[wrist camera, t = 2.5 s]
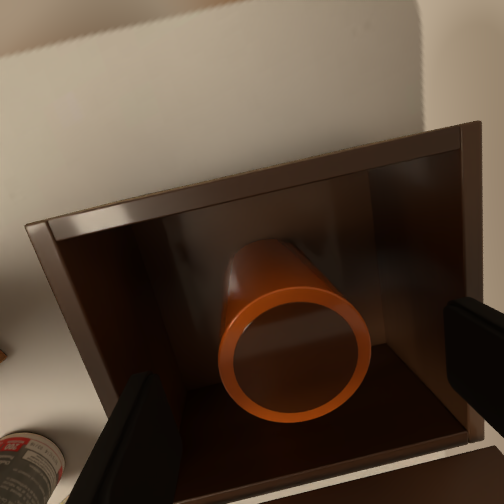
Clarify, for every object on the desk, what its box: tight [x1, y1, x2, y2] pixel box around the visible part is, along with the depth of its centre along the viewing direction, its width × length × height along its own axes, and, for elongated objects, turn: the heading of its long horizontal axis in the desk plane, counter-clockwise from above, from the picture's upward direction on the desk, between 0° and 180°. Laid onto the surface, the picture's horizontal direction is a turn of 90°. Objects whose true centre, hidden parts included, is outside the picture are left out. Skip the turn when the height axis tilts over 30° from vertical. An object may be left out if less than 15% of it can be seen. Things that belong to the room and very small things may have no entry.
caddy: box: [25, 121, 484, 504], centre depth 14 cm, size 12×14×7 cm
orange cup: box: [218, 239, 371, 423], centre depth 13 cm, size 5×5×7 cm
